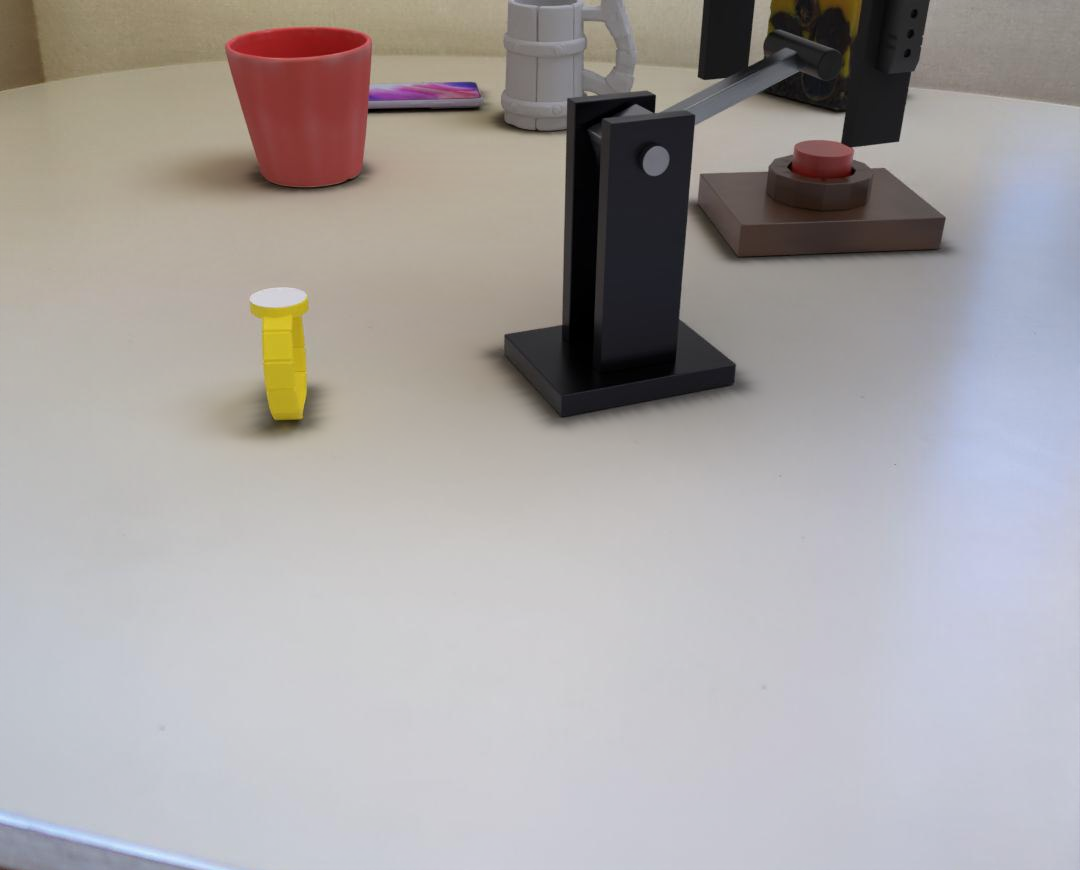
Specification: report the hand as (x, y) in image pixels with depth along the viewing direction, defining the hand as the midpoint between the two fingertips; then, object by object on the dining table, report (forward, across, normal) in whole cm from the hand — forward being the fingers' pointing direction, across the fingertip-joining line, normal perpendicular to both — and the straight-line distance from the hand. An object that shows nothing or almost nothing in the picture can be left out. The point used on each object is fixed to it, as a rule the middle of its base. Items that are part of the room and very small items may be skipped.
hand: (789, 107), depth 61 cm
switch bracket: (+13, 0, -9) cm, 16 cm away
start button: (+9, -16, +14) cm, 23 cm away
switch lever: (0, 0, -4) cm, 4 cm away
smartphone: (+13, -58, -3) cm, 59 cm away
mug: (+13, -46, +8) cm, 49 cm away
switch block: (+13, -16, +14) cm, 25 cm away
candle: (+13, -47, +36) cm, 61 cm away
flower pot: (+13, -40, -16) cm, 45 cm away
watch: (+13, -2, -26) cm, 30 cm away
